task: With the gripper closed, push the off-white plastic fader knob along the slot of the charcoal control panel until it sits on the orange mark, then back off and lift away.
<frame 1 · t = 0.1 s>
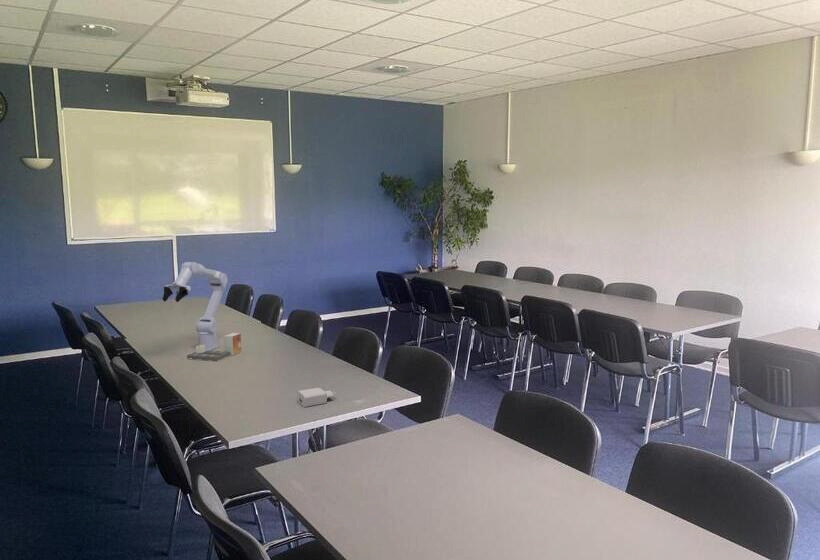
hand: (170, 300, 304), 32 cm above the table, tool tilted 50°, fingers open, 7 cm apart
fader: (200, 348, 317), point 4 cm above the table, slide at -5.0 cm
panel: (209, 357, 316), on the table
charger: (318, 401, 245), on the table
small box: (233, 353, 324), on the table
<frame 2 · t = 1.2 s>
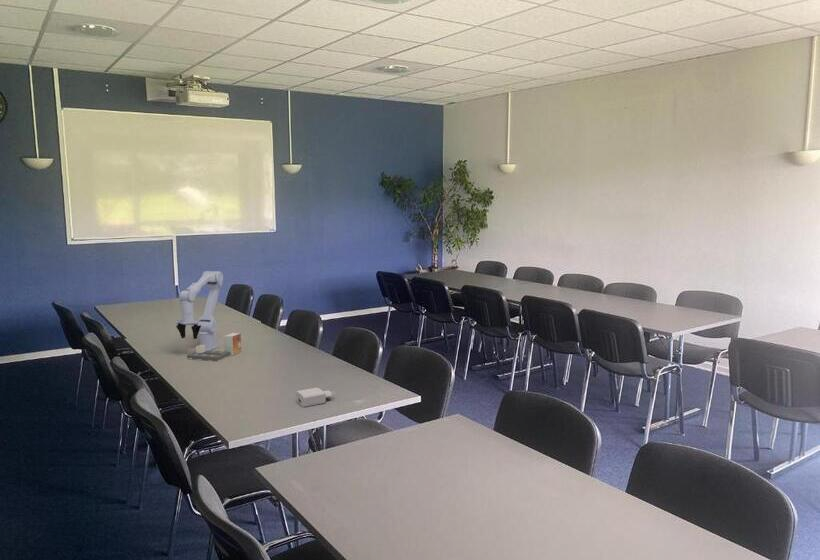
hand: (189, 338, 318), 10 cm above the table, tool pointing down, fingers open, 7 cm apart
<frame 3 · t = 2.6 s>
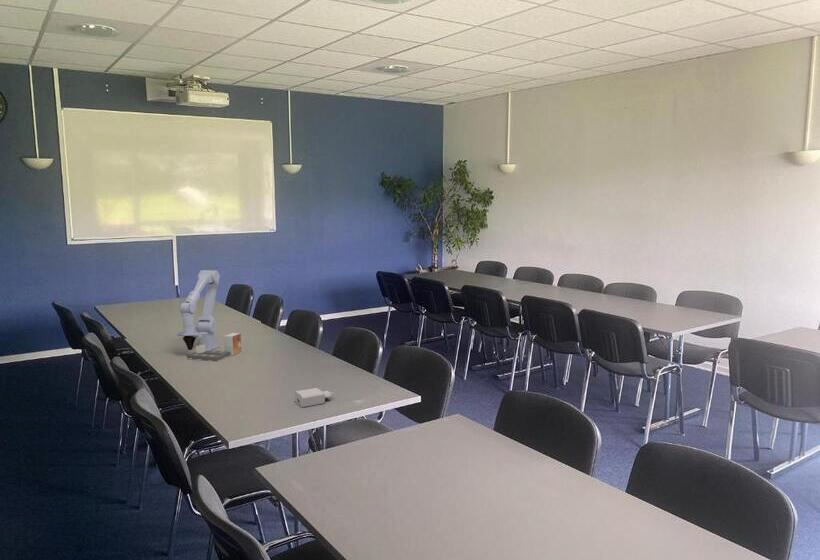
hand: (190, 349, 319), 3 cm above the table, tool pointing down, fingers closed
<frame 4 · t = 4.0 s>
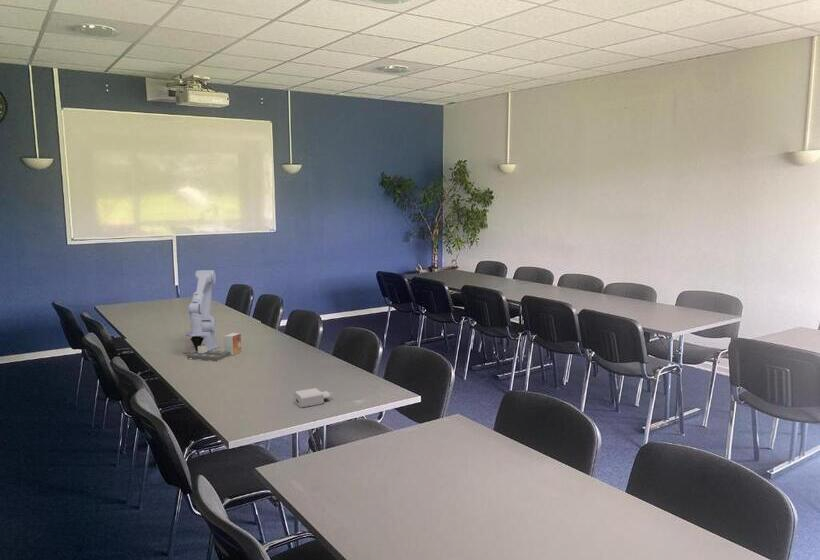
hand: (197, 350, 318), 3 cm above the table, tool pointing down, fingers closed
fader: (202, 348, 317), point 4 cm above the table, slide at -3.8 cm, touching gripper
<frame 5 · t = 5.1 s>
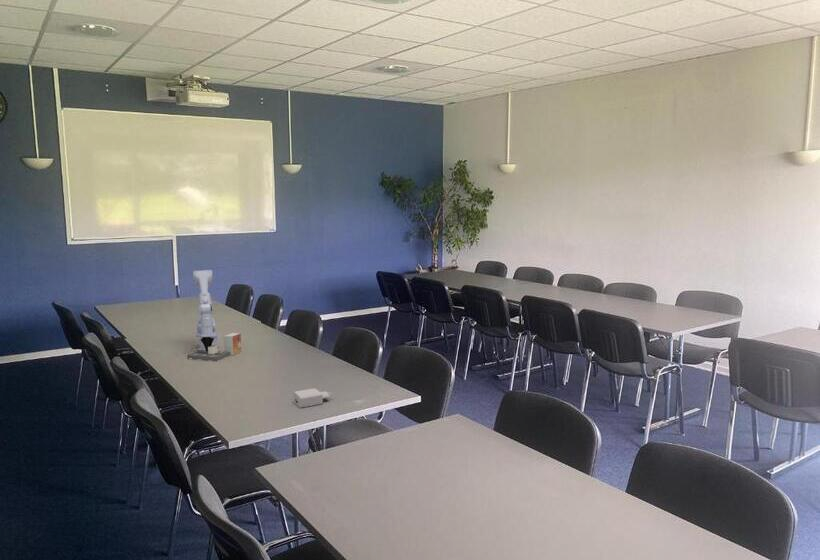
hand: (208, 351, 316), 3 cm above the table, tool pointing down, fingers closed
fader: (212, 349, 315), point 4 cm above the table, slide at 2.6 cm, touching gripper
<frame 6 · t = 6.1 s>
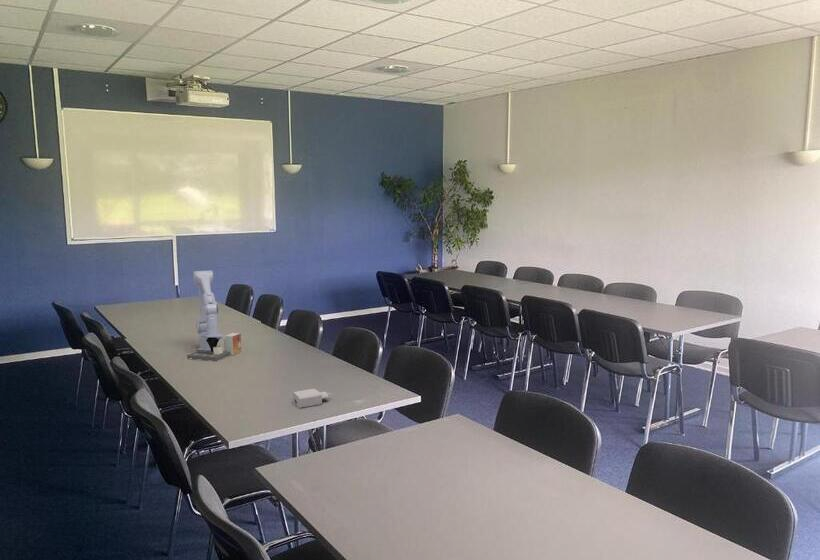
hand: (213, 351, 315), 3 cm above the table, tool pointing down, fingers closed
fader: (218, 350, 314), point 4 cm above the table, slide at 5.9 cm, touching gripper
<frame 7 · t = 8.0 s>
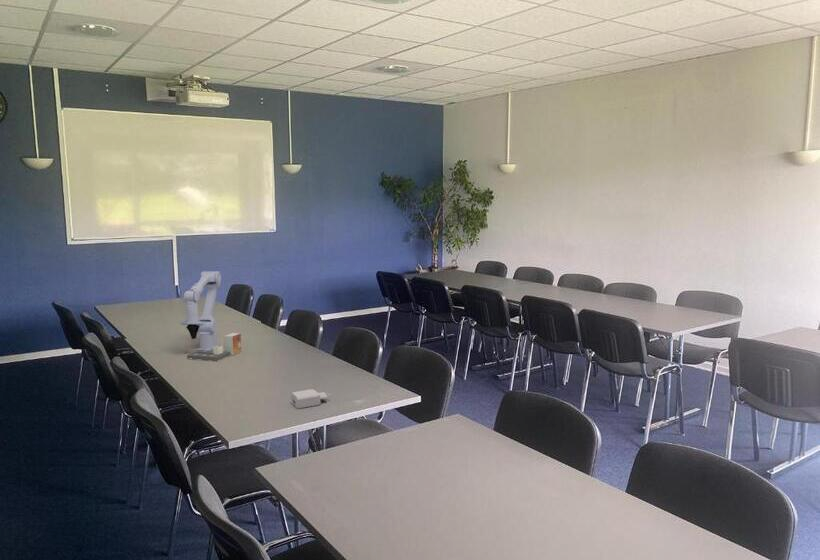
hand: (193, 338, 318), 9 cm above the table, tool pointing down, fingers closed
fader: (218, 350, 314), point 4 cm above the table, slide at 5.9 cm
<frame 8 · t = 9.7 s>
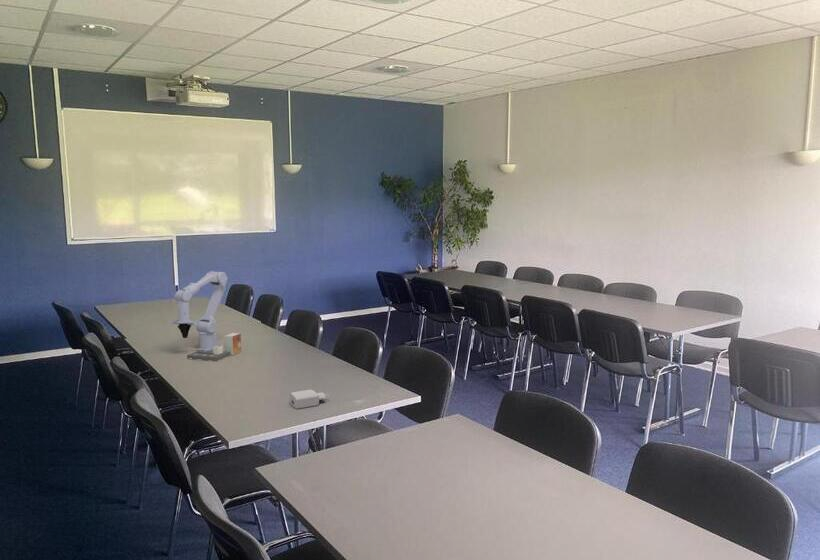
hand: (185, 337, 320), 9 cm above the table, tool pointing down, fingers closed
at the end: fader slide at 5.9 cm; small box moved 0.3 cm from its start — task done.
